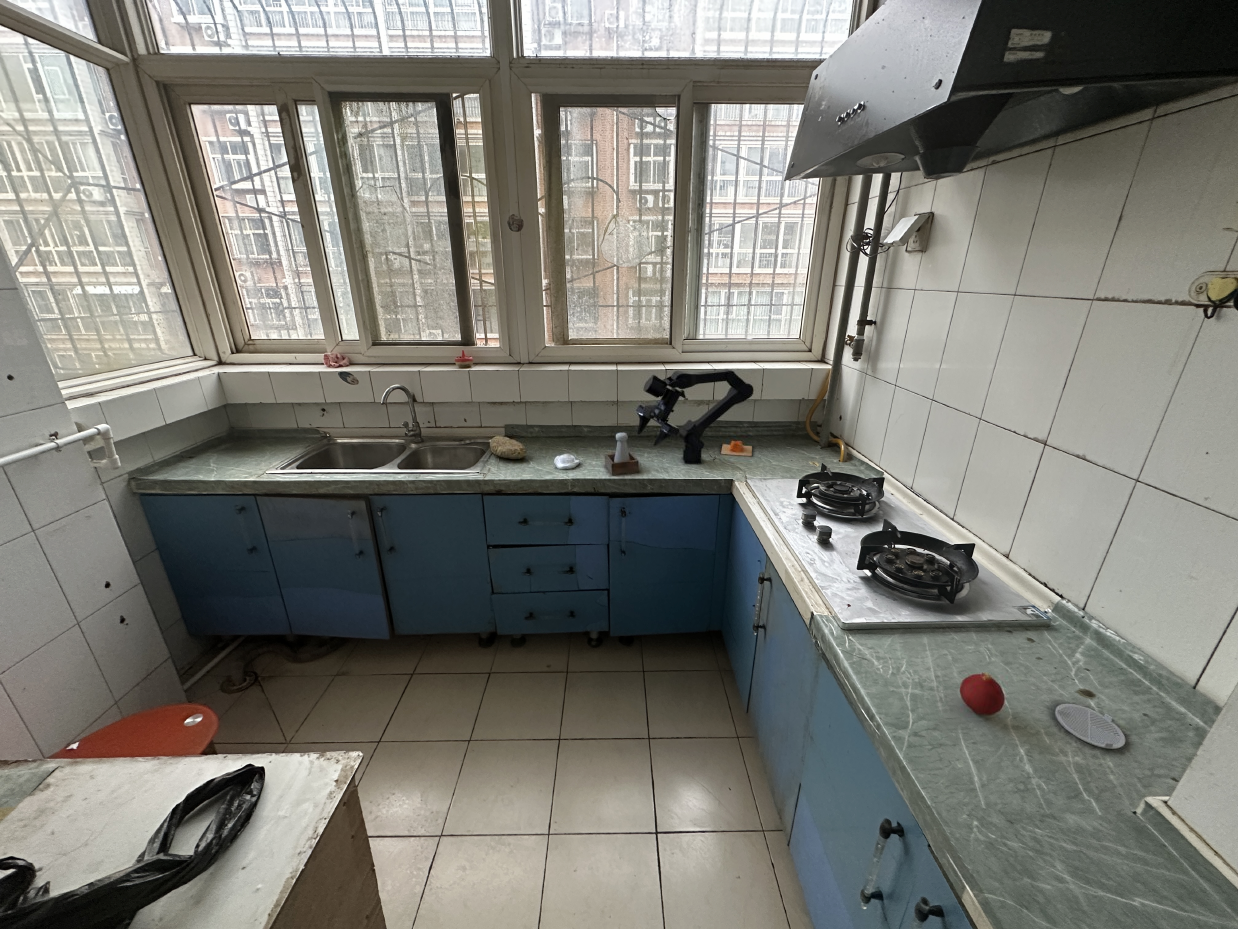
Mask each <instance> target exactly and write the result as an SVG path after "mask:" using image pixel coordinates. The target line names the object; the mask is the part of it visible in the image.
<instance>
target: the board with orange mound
mask: <svg viewBox="0 0 1238 929" xmlns="http://www.w3.org/2000/svg"><path fill="white" fill-rule="evenodd" d="M720 455H732V456H744V457H745V456H746V457H747V456H748V457H752V455H753V446H752V445H743V441H742V440H737V441H736V440H731V442H730V444H723V443H722V446H721V451H720Z"/></svg>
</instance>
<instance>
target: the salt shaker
mask: <svg viewBox="0 0 1238 929" xmlns="http://www.w3.org/2000/svg"><path fill="white" fill-rule="evenodd" d="M628 437H629V436H628V434H627V433H626V432H618V433H616V434H615V440H616V441H617V442H616V443H617V444H616V448H615V453H616V454H615V459H614V462H624V461H630V458H629V453H628V452H629V448H628V443H627V441H628V439H629V438H628Z"/></svg>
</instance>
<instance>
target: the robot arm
mask: <svg viewBox="0 0 1238 929" xmlns="http://www.w3.org/2000/svg"><path fill="white" fill-rule="evenodd" d="M721 382H726V383H727V384H728V385H729V386H730V388H729V389H728V390H727V393H726V395H725V396H724V397H723V398H721V399H720V400H719V401H717V403H716V404H714V405H713V406H712V407H711V408H710V409H708V410H707V411H706V412H705V413H704V414H703V415H701V416H700V417H699V418H698V419H696V420H694V421H693V420H691V419H688V420H687V421H686V422H685V423H684V424H682V425H681V428H679V427H677V426H676V425H675V424H673V423H671V422H669V419H668V418H669V417H670V415H671V414H672V413H674V412H675V409H674V408H675V406H676V404H677V402H678V401H679V399H680V397H681V398H683V399H686V398H687V396H686V393H685V392H686V391H685V389H690V388H693V387H695V386H696V385H697V386H698V385H700V384H701V385H702V384H711V383H721ZM642 389H643V392H645V393H647V394H648V395H650V396H652V397H654V398H656V399H658V398H660V399H659V401H658V400H656V401H655V403H654V404H645V405H643V404H639V405H638V406H637V407H636V408H635V411H636V412H637V413H636V414H637V416H638V418H639V420H638V421H639V422H638V428H637V433H636V434H637V435H641V433H643V432H644V430H645V429H646V427H647V426H648V424H649V423H650V421H651V420H652V421H655V422H656V423H657V424H659V425H660V426H661V427H662V428H659V434H658V436H657V437H656V439H655V441H654V443H653V446H654V447H657V446H658V445H659V444H661V443H662V442H664V441H665V440H666V439H668V438H670V437H674V436H675V437H678V435H679V438H680V439H681V440H682V441H683V443H684V447H683V448H682V461H684V462H683V463H684V464H697V465H698V464H700V465H701V464H703V462H702V451H703V449H704V447H705V442H703V440H702V439H701V438H702V437H703V435H704V433H705V431H706V430H707V429H708V428H709V427H710V426H712V424H714V423H715V422H716V421H717V420H718V419H720V418H721V417H722V416H723V415H724V414H726V413H727V412H728V411H729V410H730V409H732V408H733V407H734V406H735V405H739V404H741V403H744V402H745V401H747V400H749V399H750V398H752V396H753V395H754V390H755V389H754V386H753V385H752V384H750V383H749V382H747V381H744V380H743V378H741V377H740V376H739V375H737V373H736V372H735V371H734V370H732V369H729V368H725V369H718V370H717V369H716V370H707V371H697V372H695V371H688V370H675V371H673V372H672V373H671V375H669V376H667V377H665V378H664V379H662V378H660V377H658V376H657V375H656V374H651V376H650V377H649V378H648V379H647V380H646V381H645V383H644V385H643V388H642Z"/></svg>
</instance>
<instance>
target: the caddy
mask: <svg viewBox="0 0 1238 929" xmlns="http://www.w3.org/2000/svg"><path fill="white" fill-rule="evenodd" d="M628 453H629V458H630V461H624V462H614V459H615V454H616V452H614V453H604V467H605V468H606V470H607V471H608V473H609V474H610V475H611V476H617V475H618V476H620V475H628V474H636V473H639V468H640V467H639V466H640V465H639V464H640V460H639V459H638V458H637V456H635V455H634V454H633V452H632V451H628Z"/></svg>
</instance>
